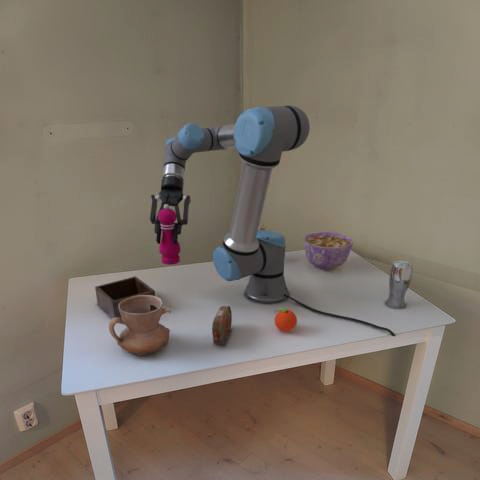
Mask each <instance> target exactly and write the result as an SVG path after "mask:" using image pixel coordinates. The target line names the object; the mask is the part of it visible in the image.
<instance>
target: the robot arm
mask: <svg viewBox="0 0 480 480" xmlns="http://www.w3.org/2000/svg"><path fill="white" fill-rule="evenodd" d="M309 120H310V119H309V117H308V115H307V114H306V113H305V111H304V110H303V109H301V108H300V107H297V106H295V105H275V106H256V107H252V108H247V109H246V110H245V111H243V112H242V113H241V114H240V115H239V116H238V118H237V119H236V122H235V123H231V124H226V125H219V126H210V127H201V126H199V125H198V124H195V123H193V122H189V123H187V124H185V125H183V127H182V128H181V129H180V130H179V131H178V133H177V134H176V136H174V137H171V138H168V139H167V140H166V142H165V147H164V158H163V167H162V175H161V184H160V191H159V192H158V194H156V195H155V194H151V195H150V199H151V206H150V207H151V208H150V214H149V221H150V223H151V224H152V225H154V229H153V230H154V233H155V234H156V236H155V238H156V239H155V240H156V243H157V245H160V242H161V239H162V229H161V225H160V224H161V222H160V221H159V219H158V214H159V212H160V211H161V210H162V209H164V205H165V204H168V205H169V207H174V211H175V213H176V222H174V223H175V228H174V239H173V241H174V244H177V241H178V238H179V235H182V227H183V226H186V225H188V222H189V209H190V204H191V202H192V200H191V199H192V198H191V195H184V185H185V183H184V181H185V172H186V163H187V161H188V160H189V159H190V157H191V156H192V155H193V154H194V153H195V154H196V153H197V154H198V153H204V152H212V151H223V150H230V149H231V150H232V149H236V150H237V152H238V157H239V158H240V160H241V161H242V165H241V170H240V176H239V181H238V187H237V191H236V197H235V200H234V201H235V202H234V208H233V212H232V219H231V222H230V228H229V232H227V233H226V234H224V236H223V239H222V245H221V246H218V247H217V248H215V249H214V250H213V252H212V262H213V265H214V268H215V269H216V272H217V273H218V275H219V276H220V277H221V278H222V279H223V280H225V281H227V282H233V281H239V280H240V279H244V278H246V277H249V279H248V282H247V285H246V286H245V297H247V299H249V300H251V301H252V302H256V303H261V304H274V303H279V302H282V301H284V300H286V298H288V299H289V300H290V301H293V302H294V303H297V304H298V305H300V306H302V307H304V308H305V309H307V310H310V311H313V312H316V313H319V314H321V315H325V316H331V317H335V318H340V319H344V320H345V319H346V320H350V321H354V322H358V323H361V324H364V325H368V326H371V327H374V328H376V329H379V330H383V331H387V332H388V333H389V334H390V335H391V336H392V337H396V335H395V333H394V332H393V331H392V330H391V329H389V328H387V327H384V326H379V325H377V324H374V323H372V322H369V321H365V320H361V319H357V318H355V317H349V316H344V315H340V314H335V313H331V312H330V313H329V312H325V311H322V310H318V309H316V308H312V307H311V306H309V305H306V304H304V303H303V302H300V301H299V300H296V299H295V298H293V297H291V296H290V295H288V294H289V293H288V291H289V289H288V286H287V282H286V278H285V276H284V273H285V258H286V248H287V247H286V238H285V236H284V235H283V234H282V233H280V232H277V231H275V230H273V231H270V230H267V229H265V230H260V229H259V227H260V223H261V219H262V215H263V210H264V207H265V201H266V198H267V193H268V190H269V185H270V181H271V178H272V173H273V170H274V168H276V167H278V166H279V165H280V162H281V158H282V154H283V152H288V151H293V150H296V149H298V148H300V147H301V146H302V145H303V144H304V143H305V142H306V141H307V139H308V137H309V134H310V130H311V129H310V125H311V124H310V121H309ZM159 200H160V201H161V202H160V203H161V204H160V207H159V209H158V202H159ZM182 201H183V213H182V215H181V212H180V206H179V204H180V203H181V202H182ZM157 211H158V212H157ZM181 216H182V217H181Z"/></svg>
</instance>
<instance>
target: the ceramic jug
mask: <svg viewBox="0 0 480 480" xmlns="http://www.w3.org/2000/svg"><path fill="white" fill-rule="evenodd" d="M150 305H153V306H155V307H157V309H154V310H151V309H150ZM118 308H119V312H120V314H121V318H120V317H116V318H113V319H112V318H111V320H109V323H108V331H109V333H110V336H111V337H112V338H114V340H115V341H116V343H117V345H118V346H119V347H120V348H121V349H122V350H124V351H125V352H127V353H130V354H132V355H139V356H144V355H145V356H146V355H151V354H155V353H157V352H159V351H161V350H163V349H164V348H165V347H166V346H167V345H168V343H169V341H170V332H171V329H170V328H168V327H166V326H165V325H163V324H162V323H160V321H161V317H163V315H164V314H168V313H169V314H171V312H172V308H171V307H166V306H165V307H164V305H163V301H162V299H161V298H160V297H158V296H156V295H155V296H152V295H138V296H133V297H130V298H127V299H125V300H123V301H121V302H120V303H119V305H118ZM116 324H121V325H123V326H124V325H125V326H126V327H125V328H124V329H123V330H122V331H121V332H120V334H119V336H118V334H117V333H116V331H115V325H116Z"/></svg>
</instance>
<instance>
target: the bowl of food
mask: <svg viewBox="0 0 480 480" xmlns="http://www.w3.org/2000/svg"><path fill="white" fill-rule="evenodd" d="M303 244H304V251H305V257H306V259H307V261H308V262H309V264H311V265H312V266H314V267H316V268H317V269H320V270H323V271H332V270H334V269H337V268H339V267H343V266H344V264H345V263H346V262H347V260H348V258H349V256H350V253H351V251H352V248H353V245H354V239H353V238H352V237H350V236H348V235H347V234H343V233H339V232H331V231H317V232H311V233H308V234H306V235H304V237H303Z"/></svg>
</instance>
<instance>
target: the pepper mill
mask: <svg viewBox="0 0 480 480" xmlns="http://www.w3.org/2000/svg"><path fill="white" fill-rule="evenodd" d="M158 212H159V211H158ZM157 214H158V213H157ZM158 219H159V221H160V222H161V224H160V225H161V229H162V231H161V241H160V244H159V247H158V251H159V253H160V255H161V263H162V264H163V265H169V266H171V265H176V264H179V263H180V261H181V258H180V257H181V256H180V253H181V245H180V243H179V241H178V240H177V244H174V241H173V239H174V228H175V223H176V221H177V217H176V212H175V209H174V210H173V209H172V208H170V206H169V205H168V204H165V205H164V209H162V210H161V211H160V212H159V214H158Z"/></svg>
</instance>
